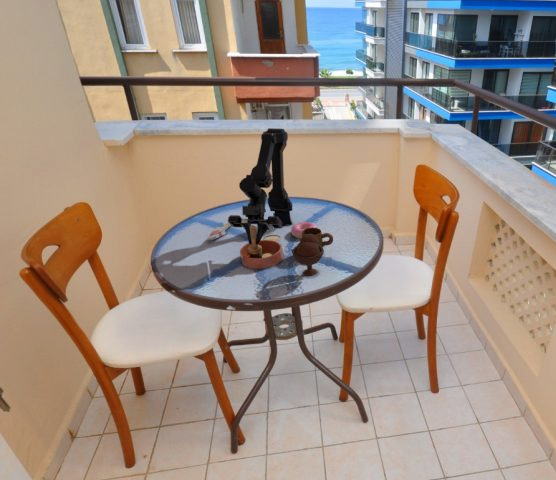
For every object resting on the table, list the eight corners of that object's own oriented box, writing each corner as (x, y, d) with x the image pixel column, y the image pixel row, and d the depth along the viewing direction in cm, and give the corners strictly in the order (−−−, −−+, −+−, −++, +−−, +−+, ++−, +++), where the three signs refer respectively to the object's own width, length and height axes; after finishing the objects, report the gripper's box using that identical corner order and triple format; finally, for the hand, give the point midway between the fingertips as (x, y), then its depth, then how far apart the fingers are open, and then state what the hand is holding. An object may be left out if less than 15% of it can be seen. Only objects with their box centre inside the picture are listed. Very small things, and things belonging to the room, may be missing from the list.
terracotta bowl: (279, 247, 165) (277, 237, 163) (287, 265, 154) (285, 254, 151) (239, 254, 160) (237, 243, 158) (245, 273, 149) (242, 262, 146)
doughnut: (313, 227, 181) (312, 218, 178) (321, 237, 173) (320, 228, 170) (288, 231, 177) (287, 222, 175) (295, 242, 169) (294, 233, 166)
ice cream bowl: (295, 266, 153) (290, 229, 144) (326, 265, 153) (323, 228, 145) (293, 282, 144) (287, 243, 135) (325, 280, 145) (321, 242, 136)
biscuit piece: (271, 255, 159) (271, 252, 158) (273, 260, 156) (273, 257, 155) (261, 257, 158) (260, 254, 157) (263, 262, 154) (262, 259, 154)
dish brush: (256, 253, 159) (253, 222, 152) (265, 258, 157) (262, 226, 150) (246, 257, 156) (242, 226, 149) (255, 262, 154) (251, 230, 146)
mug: (336, 250, 163) (335, 228, 158) (332, 259, 157) (330, 237, 152) (307, 248, 165) (304, 226, 159) (301, 257, 158) (298, 235, 153)
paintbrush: (204, 235, 166) (228, 218, 183) (205, 242, 168) (229, 223, 184) (212, 236, 166) (236, 218, 182) (214, 242, 167) (237, 224, 184)
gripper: (223, 194, 147) (219, 236, 144) (275, 195, 146) (272, 237, 143) (235, 206, 158) (231, 245, 155) (284, 207, 157) (280, 247, 154)
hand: (253, 244), depth 152 cm, fingers closed on dish brush, 2 cm apart
